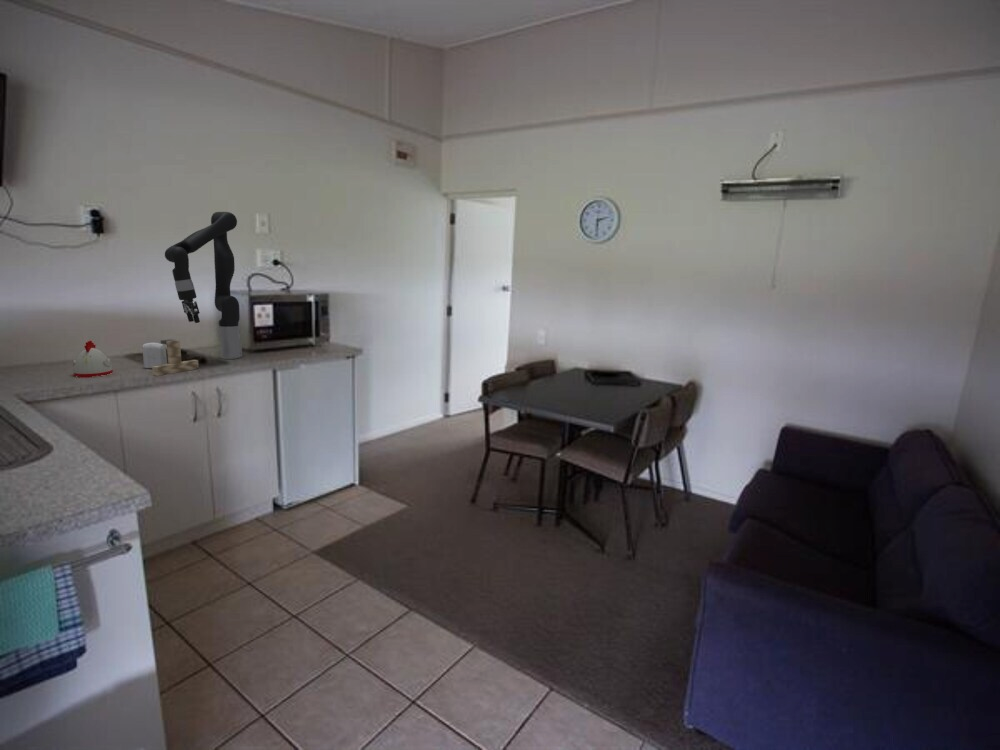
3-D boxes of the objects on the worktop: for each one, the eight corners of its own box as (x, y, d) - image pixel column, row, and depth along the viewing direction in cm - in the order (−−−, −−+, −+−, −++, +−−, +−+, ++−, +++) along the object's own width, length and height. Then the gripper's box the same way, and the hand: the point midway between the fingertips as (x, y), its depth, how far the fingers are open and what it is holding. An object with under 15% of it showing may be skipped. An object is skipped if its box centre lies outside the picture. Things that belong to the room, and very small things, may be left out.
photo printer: (169, 367, 252) (166, 342, 250) (163, 369, 248) (160, 343, 246) (149, 366, 253) (146, 341, 251) (142, 368, 249) (139, 342, 246)
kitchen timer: (67, 377, 226) (62, 343, 223) (83, 371, 239) (78, 338, 236) (105, 377, 230) (100, 343, 227) (118, 370, 243) (114, 338, 240)
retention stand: (189, 366, 256) (186, 337, 253) (198, 368, 253) (196, 338, 250) (147, 374, 238) (143, 342, 235) (157, 375, 235) (153, 343, 232)
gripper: (199, 288, 252) (207, 321, 257) (188, 287, 261) (197, 319, 266) (182, 291, 247) (191, 324, 251) (172, 290, 256) (181, 322, 261)
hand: (194, 322), depth 259 cm, fingers open, 8 cm apart
